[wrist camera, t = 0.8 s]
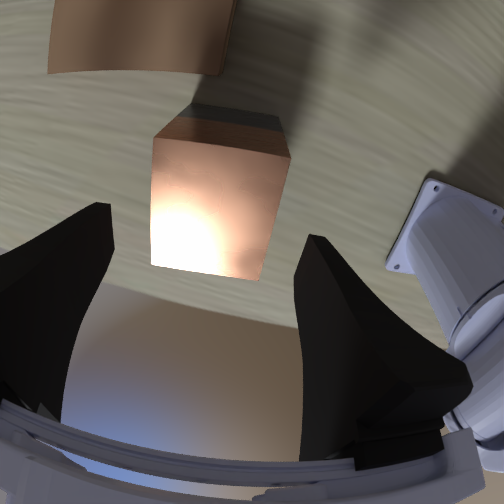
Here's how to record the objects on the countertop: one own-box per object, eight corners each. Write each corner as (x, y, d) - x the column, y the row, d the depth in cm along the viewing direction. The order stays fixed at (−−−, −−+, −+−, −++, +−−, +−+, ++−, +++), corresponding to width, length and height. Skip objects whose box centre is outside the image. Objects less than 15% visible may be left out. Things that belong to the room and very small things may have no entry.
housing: (278, 116, 16) (291, 158, 11) (258, 205, 20) (258, 280, 14) (191, 103, 16) (153, 137, 10) (181, 194, 19) (151, 264, 14)
